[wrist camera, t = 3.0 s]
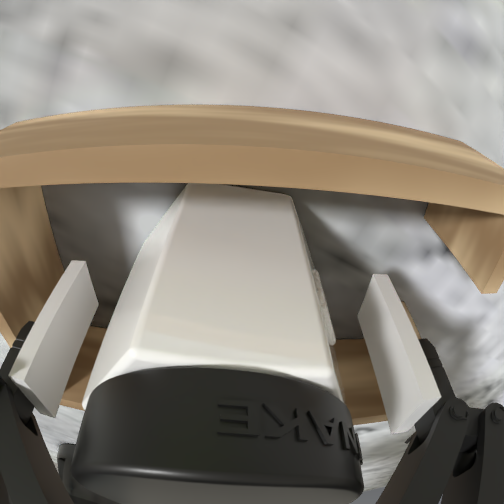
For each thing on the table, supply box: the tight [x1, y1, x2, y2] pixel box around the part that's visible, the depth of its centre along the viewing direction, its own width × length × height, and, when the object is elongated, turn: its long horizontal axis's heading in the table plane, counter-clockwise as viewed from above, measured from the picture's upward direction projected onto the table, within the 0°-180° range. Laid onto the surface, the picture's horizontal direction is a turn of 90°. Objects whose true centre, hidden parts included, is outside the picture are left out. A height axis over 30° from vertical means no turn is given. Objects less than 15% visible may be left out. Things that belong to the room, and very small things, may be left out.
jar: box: [70, 183, 364, 504], centre depth 11 cm, size 9×8×12 cm
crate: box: [0, 105, 504, 425], centre depth 14 cm, size 15×22×6 cm
